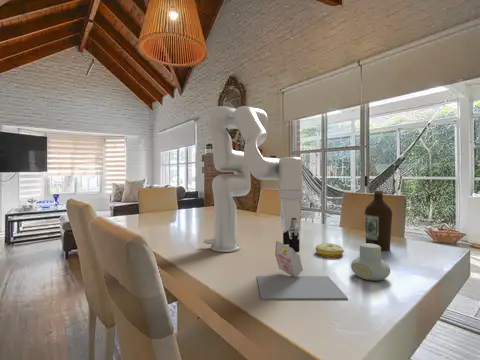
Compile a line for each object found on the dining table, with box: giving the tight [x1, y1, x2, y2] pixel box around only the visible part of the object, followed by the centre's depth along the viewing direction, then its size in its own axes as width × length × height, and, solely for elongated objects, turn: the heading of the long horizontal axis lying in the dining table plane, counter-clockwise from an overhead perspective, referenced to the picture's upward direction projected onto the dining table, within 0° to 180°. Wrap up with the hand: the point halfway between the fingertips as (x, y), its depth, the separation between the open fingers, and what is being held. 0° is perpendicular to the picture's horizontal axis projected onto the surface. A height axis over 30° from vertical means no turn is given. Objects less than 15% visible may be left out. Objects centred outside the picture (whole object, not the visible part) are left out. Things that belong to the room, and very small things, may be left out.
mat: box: [256, 275, 349, 301], centre depth 76 cm, size 22×15×1 cm
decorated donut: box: [315, 242, 345, 258], centre depth 109 cm, size 10×11×4 cm
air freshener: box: [350, 242, 391, 282], centre depth 84 cm, size 11×8×10 cm
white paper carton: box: [274, 240, 304, 277], centre depth 84 cm, size 4×7×10 cm, turn 38°
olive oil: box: [364, 190, 393, 252], centre depth 118 cm, size 11×11×25 cm
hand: (290, 248), depth 88 cm, fingers open, 9 cm apart
